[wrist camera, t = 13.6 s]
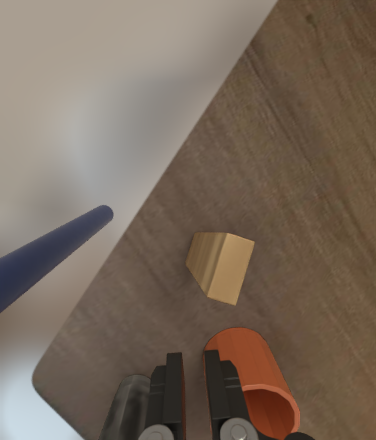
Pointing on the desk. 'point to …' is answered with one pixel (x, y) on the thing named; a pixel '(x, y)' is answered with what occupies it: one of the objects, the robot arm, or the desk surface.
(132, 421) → the beverage cup
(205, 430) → the desk surface
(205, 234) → the wooden block
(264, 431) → the utensil cup
